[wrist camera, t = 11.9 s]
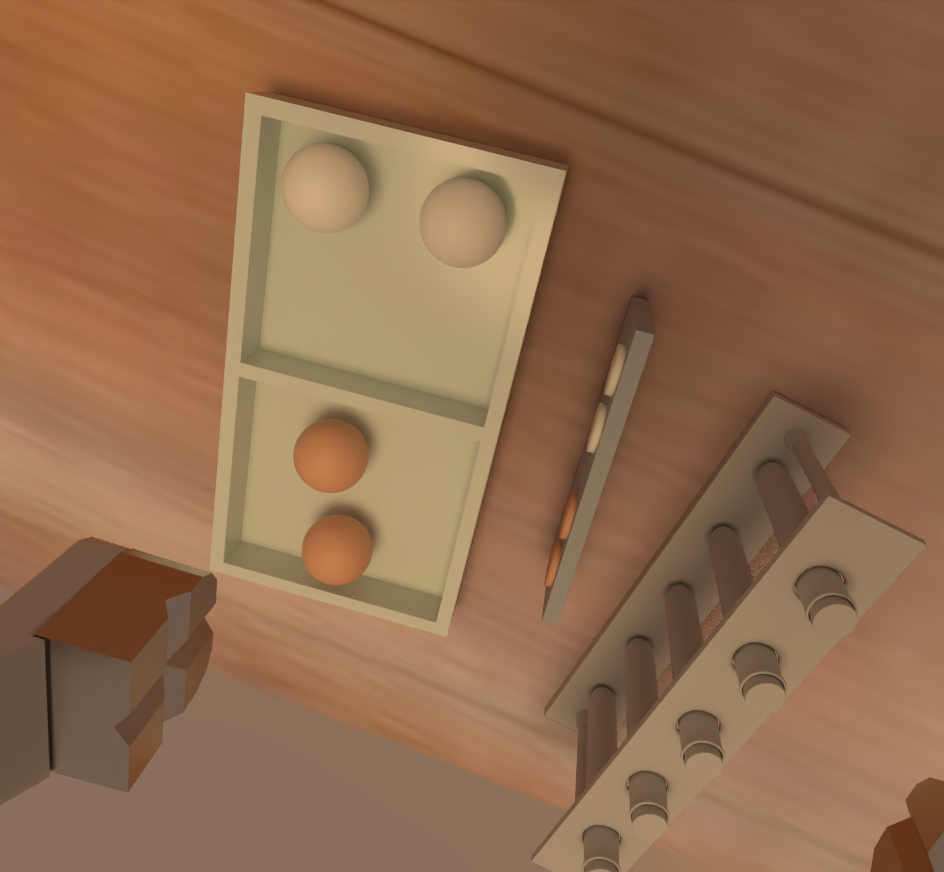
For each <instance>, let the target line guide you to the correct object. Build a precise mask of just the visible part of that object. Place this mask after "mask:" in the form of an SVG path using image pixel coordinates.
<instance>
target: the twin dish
mask: <svg viewBox="0 0 944 872" xmlns="http://www.w3.org/2000/svg"><path fill="white" fill-rule="evenodd" d="M314 143H331V144H335V145H338V146H340V147H342V148H344V149H346V150H348V151H349V152H350V153H352V154H353V155H354V156H355V157H356V158H357V159H358V161H359V162H360V163H361V165H362V167H363V168H364V170H365V173H366V175H367V179H368V184H369V198H368V203H367V206H366V208H365V210H364V212H363V214H362V216H361V217H360V219H359V220H358V221H357V222H356V223H354V224H353V225H352V226H351V227H349V228H347V229H346V230H343V231H340V232H336V233H329V234H328V233H319V232H315V231H312V230H310V229H307V228H306V227H304V226H303V225H301V224H300V223H298V222H297V221H296V220H295V219H294V218H293V217H292V215H291V214H290V213H289V211H288V209H287V208H286V205H285V203H284V200H283V197H282V192H281V179H282V174H283V171H284V168H285V166H286V164H287V162H288V161H289V159H290V158H291V157H292V156H293V155H294V154H295V153H296V152H297V151H298V150H300V149H301V148H303V147H305V146H307V145H310V144H314ZM568 169H569V165H566V164H562V163H558V162H554V161H550V160H546V159H542V158H538V157H534V156H530V155H526V154H522V153H518V152H513V151H509V150H505V149H501V148H497V147H493V146H489V145H485V144H481V143H477V142H473V141H469V140H465V139H461V138H456V137H452V136H448V135H444V134H440V133H436V132H432V131H428V130H424V129H420V128H416V127H412V126H408V125H404V124H399V123H395V122H391V121H387V120H383V119H379V118H375V117H371V116H367V115H363V114H359V113H355V112H351V111H347V110H342V109H338V108H334V107H330V106H326V105H322V104H318V103H314V102H310V101H306V100H302V99H298V98H294V97H290V96H286V95H281V94H277V93H273V92H246V95H245V108H244V122H243V135H242V148H241V161H240V175H239V188H238V201H237V214H236V228H235V241H234V254H233V267H232V280H231V294H230V307H229V320H228V333H227V347H226V360H225V373H224V386H223V400H222V413H221V426H220V439H219V453H218V466H217V479H216V492H215V506H214V519H213V532H212V545H211V559H210V570H212V571H215V572H219V573H223V574H226V575H230V576H233V577H237V578H240V579H244V580H247V581H251V582H254V583H258V584H261V585H265V586H268V587H272V588H275V589H279V590H283V591H286V592H290V593H293V594H297V595H300V596H304V597H307V598H311V599H314V600H318V601H321V602H325V603H328V604H332V605H335V606H339V607H343V608H346V609H350V610H353V611H357V612H360V613H364V614H367V615H371V616H374V617H378V618H381V619H385V620H388V621H392V622H396V623H399V624H403V625H406V626H410V627H413V628H417V629H420V630H424V631H427V632H431V633H434V634H438V635H441V636H445V637H447V634H448V631H449V627H450V624H451V621H452V617H453V614H454V610H455V607H456V603H457V599H458V596H459V592H460V588H461V584H462V580H463V576H464V572H465V568H466V565H467V561H468V557H469V553H470V549H471V545H472V541H473V537H474V533H475V530H476V526H477V522H478V518H479V514H480V510H481V506H482V502H483V499H484V495H485V491H486V487H487V483H488V479H489V475H490V471H491V468H492V464H493V460H494V456H495V452H496V448H497V444H498V440H499V436H500V433H501V429H502V425H503V421H504V417H505V413H506V409H507V405H508V402H509V398H510V394H511V390H512V386H513V382H514V378H515V374H516V371H517V367H518V363H519V359H520V355H521V351H522V347H523V343H524V339H525V336H526V332H527V328H528V324H529V320H530V316H531V312H532V308H533V305H534V301H535V297H536V293H537V289H538V285H539V281H540V277H541V274H542V270H543V266H544V262H545V258H546V254H547V250H548V246H549V242H550V239H551V235H552V231H553V227H554V223H555V219H556V215H557V211H558V208H559V204H560V200H561V196H562V192H563V188H564V184H565V180H566V177H567V173H568ZM461 177H464V178H472V179H476V180H479V181H481V182H483V183H485V184H486V185H488V186H489V187H490V188H491V189H492V190H493V191H494V192H495V193H496V194H497V195H498V197H499V198H500V200H501V202H502V204H503V206H504V209H505V213H506V220H507V225H506V233H505V236H504V240H503V242H502V244H501V246H500V248H499V249H498V251H497V252H496V253H495V254H494V255H493V256H492V257H491V258H490V259H489V260H487V261H486V262H484V263H482V264H480V265H478V266H475V267H470V268H456V267H452V266H448V265H446V264H444V263H442V262H440V261H439V260H437V259H436V258H435V257H434V256H433V255H432V254H431V253H430V252H429V250H428V249H427V248H426V246H425V244H424V242H423V240H422V237H421V233H420V227H419V219H420V212H421V208H422V206H423V203H424V201H425V199H426V198H427V196H428V195H429V194H430V192H431V191H432V190H433V189H434V188H435V187H437V186H438V185H439V184H441V183H443V182H445V181H447V180H450V179H454V178H461ZM325 419H337V420H342V421H345V422H347V423H349V424H351V425H352V426H354V427H355V428H356V429H357V430H358V431H359V432H360V433H361V434H362V436H363V437H364V439H365V441H366V443H367V447H368V452H369V459H368V465H367V468H366V471H365V473H364V475H363V476H362V478H361V479H360V480H359V481H358V482H357V483H356V484H355V485H354V486H352V487H351V488H349V489H347V490H344V491H342V492H337V493H324V492H320V491H317V490H315V489H313V488H311V487H309V486H308V485H307V484H305V483H304V482H303V480H302V479H301V478H300V477H299V475H298V473H297V471H296V469H295V466H294V460H293V452H294V447H295V444H296V441H297V439H298V437H299V436H300V434H301V433H302V432H303V431H304V430H305V429H306V428H307V427H308V426H310V425H311V424H313V423H315V422H317V421H321V420H325ZM330 515H346V516H349V517H352V518H354V519H356V520H358V521H359V522H360V523H361V524H362V525H363V526H364V527H365V528H366V529H367V531H368V533H369V535H370V537H371V540H372V546H373V552H372V558H371V561H370V564H369V566H368V567H367V569H366V570H365V572H364V573H363V574H362V575H361V576H360V577H359V578H357V579H356V580H354V581H352V582H350V583H347V584H344V585H329V584H325V583H323V582H320V581H319V580H317V579H316V578H314V577H313V576H312V575H311V574H310V573H309V572H308V570H307V568H306V567H305V565H304V562H303V558H302V543H303V540H304V537H305V535H306V533H307V531H308V530H309V529H310V527H311V526H312V525H313V524H314V523H316V522H317V521H318V520H320V519H322V518H324V517H326V516H330Z"/></svg>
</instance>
